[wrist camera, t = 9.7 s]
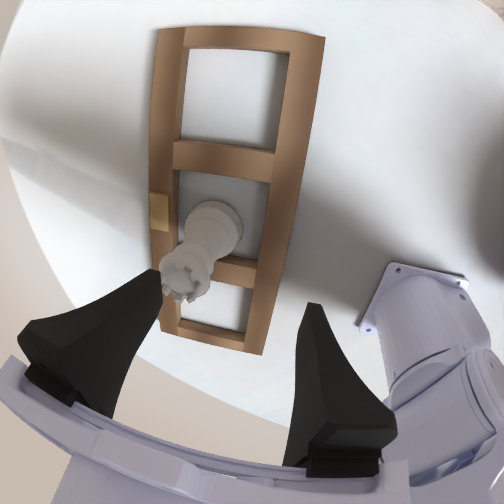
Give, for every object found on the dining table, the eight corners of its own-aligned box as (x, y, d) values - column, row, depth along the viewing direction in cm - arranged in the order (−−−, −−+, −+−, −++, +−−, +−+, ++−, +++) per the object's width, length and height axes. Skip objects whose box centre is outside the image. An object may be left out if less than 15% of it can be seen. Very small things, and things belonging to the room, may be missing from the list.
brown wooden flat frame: (323, 41, 13) (325, 36, 12) (263, 346, 28) (261, 357, 27) (166, 32, 14) (157, 28, 13) (165, 323, 29) (159, 333, 28)
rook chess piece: (253, 240, 22) (230, 308, 15) (205, 255, 23) (168, 320, 17) (229, 189, 20) (191, 240, 13) (180, 209, 22) (129, 263, 15)
